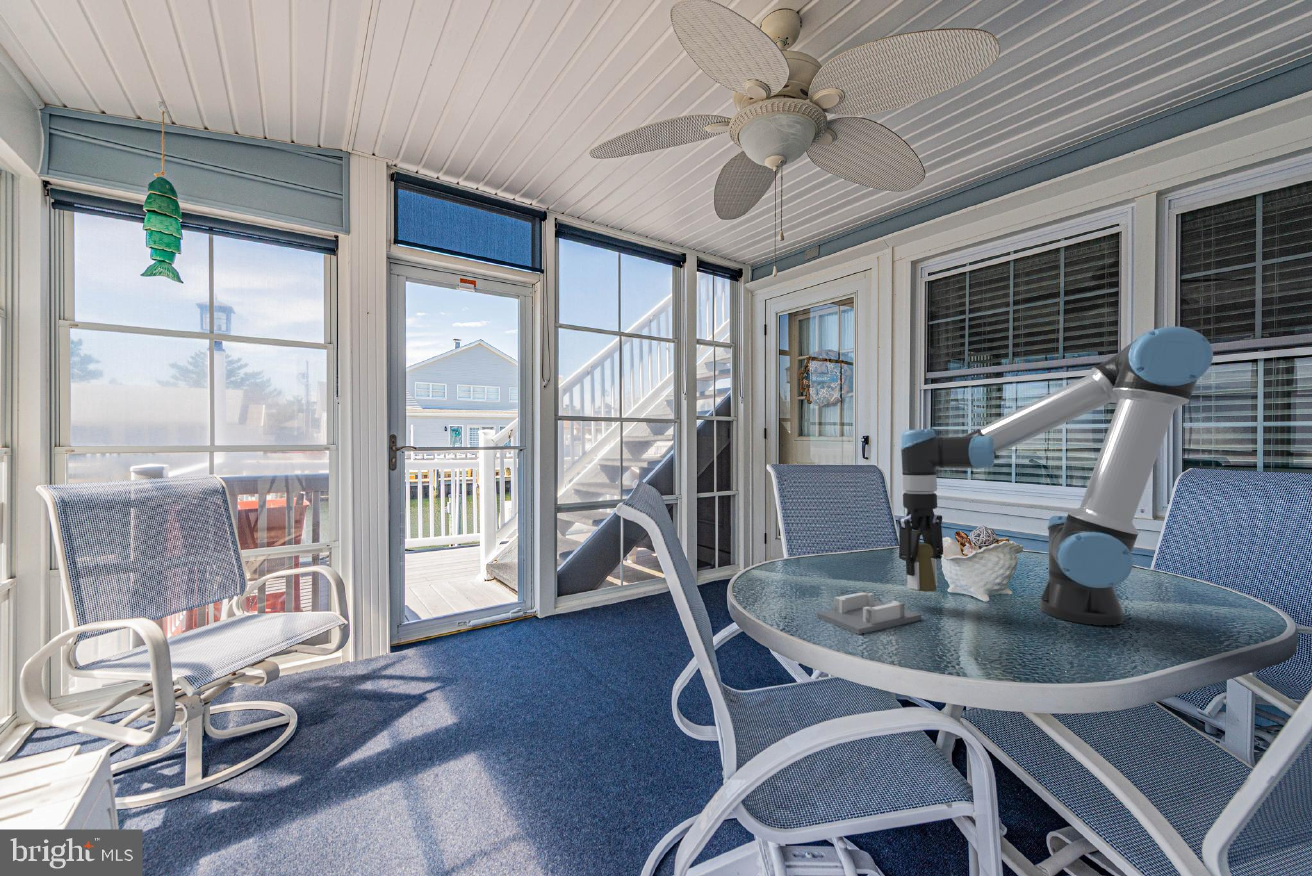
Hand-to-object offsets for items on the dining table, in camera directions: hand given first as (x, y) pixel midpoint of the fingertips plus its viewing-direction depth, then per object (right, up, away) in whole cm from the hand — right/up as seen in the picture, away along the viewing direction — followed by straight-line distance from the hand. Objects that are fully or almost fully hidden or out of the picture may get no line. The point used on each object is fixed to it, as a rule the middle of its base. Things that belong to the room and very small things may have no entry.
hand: (922, 586), depth 127 cm
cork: (0, -1, 0) cm, 1 cm away
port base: (-17, -5, -8) cm, 19 cm away
